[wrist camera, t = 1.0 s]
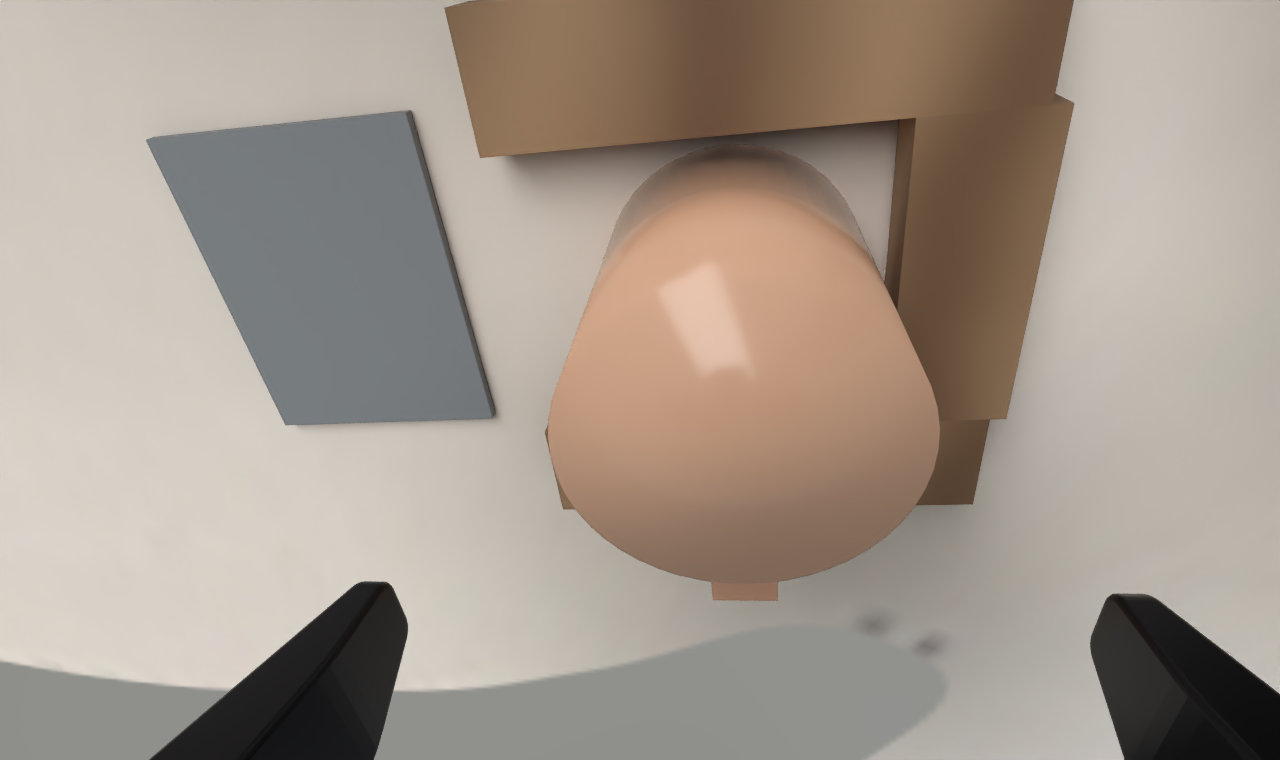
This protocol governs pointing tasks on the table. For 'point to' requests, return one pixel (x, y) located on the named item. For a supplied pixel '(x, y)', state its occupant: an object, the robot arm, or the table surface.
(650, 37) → the brown u-shaped piece
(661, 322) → the peach rounded canister
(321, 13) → the table surface
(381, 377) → the mat
